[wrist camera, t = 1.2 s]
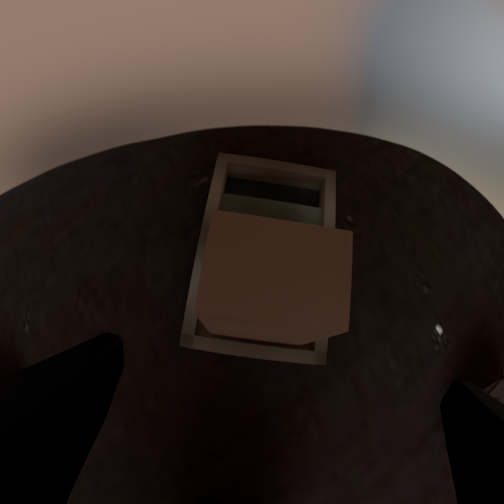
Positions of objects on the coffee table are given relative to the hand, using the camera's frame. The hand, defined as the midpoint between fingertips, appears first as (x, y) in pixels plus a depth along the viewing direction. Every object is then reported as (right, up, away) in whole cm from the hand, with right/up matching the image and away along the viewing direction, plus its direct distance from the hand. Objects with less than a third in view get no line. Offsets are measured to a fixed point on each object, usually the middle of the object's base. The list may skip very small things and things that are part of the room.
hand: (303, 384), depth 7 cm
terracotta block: (-1, 0, +13) cm, 13 cm away
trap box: (0, +3, +16) cm, 16 cm away
